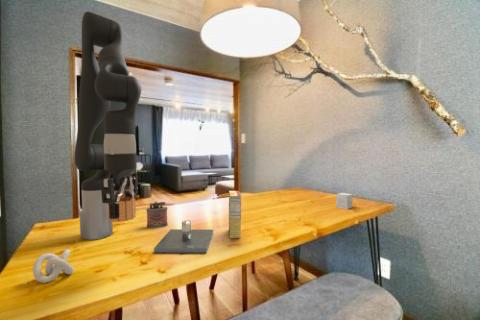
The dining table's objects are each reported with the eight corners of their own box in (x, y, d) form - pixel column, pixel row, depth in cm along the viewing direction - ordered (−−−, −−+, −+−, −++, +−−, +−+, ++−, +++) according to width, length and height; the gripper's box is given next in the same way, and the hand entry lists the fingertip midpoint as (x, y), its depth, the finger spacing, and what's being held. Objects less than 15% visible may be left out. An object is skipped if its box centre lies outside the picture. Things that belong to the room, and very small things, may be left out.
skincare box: (341, 205, 127) (341, 192, 127) (352, 207, 122) (352, 194, 122) (335, 207, 123) (336, 193, 123) (347, 209, 119) (347, 195, 118)
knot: (84, 270, 60) (83, 248, 60) (53, 288, 53) (51, 263, 52) (62, 266, 62) (61, 245, 62) (28, 283, 55) (27, 259, 54)
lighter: (146, 228, 92) (145, 203, 91) (147, 225, 95) (146, 201, 94) (167, 226, 94) (167, 202, 93) (167, 223, 97) (167, 200, 96)
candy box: (228, 229, 90) (228, 190, 89) (239, 229, 90) (239, 190, 90) (229, 238, 81) (229, 195, 80) (241, 238, 82) (241, 195, 81)
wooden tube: (102, 221, 58) (101, 202, 58) (116, 214, 65) (116, 196, 65) (127, 222, 58) (127, 202, 58) (139, 214, 65) (139, 196, 64)
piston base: (154, 252, 70) (153, 230, 70) (170, 233, 86) (170, 214, 86) (206, 253, 70) (206, 230, 70) (213, 233, 86) (213, 215, 86)
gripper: (121, 151, 68) (122, 207, 69) (87, 152, 53) (90, 223, 54) (146, 151, 68) (147, 207, 69) (119, 152, 53) (121, 223, 54)
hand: (121, 214), depth 61 cm, fingers closed on wooden tube, 6 cm apart
